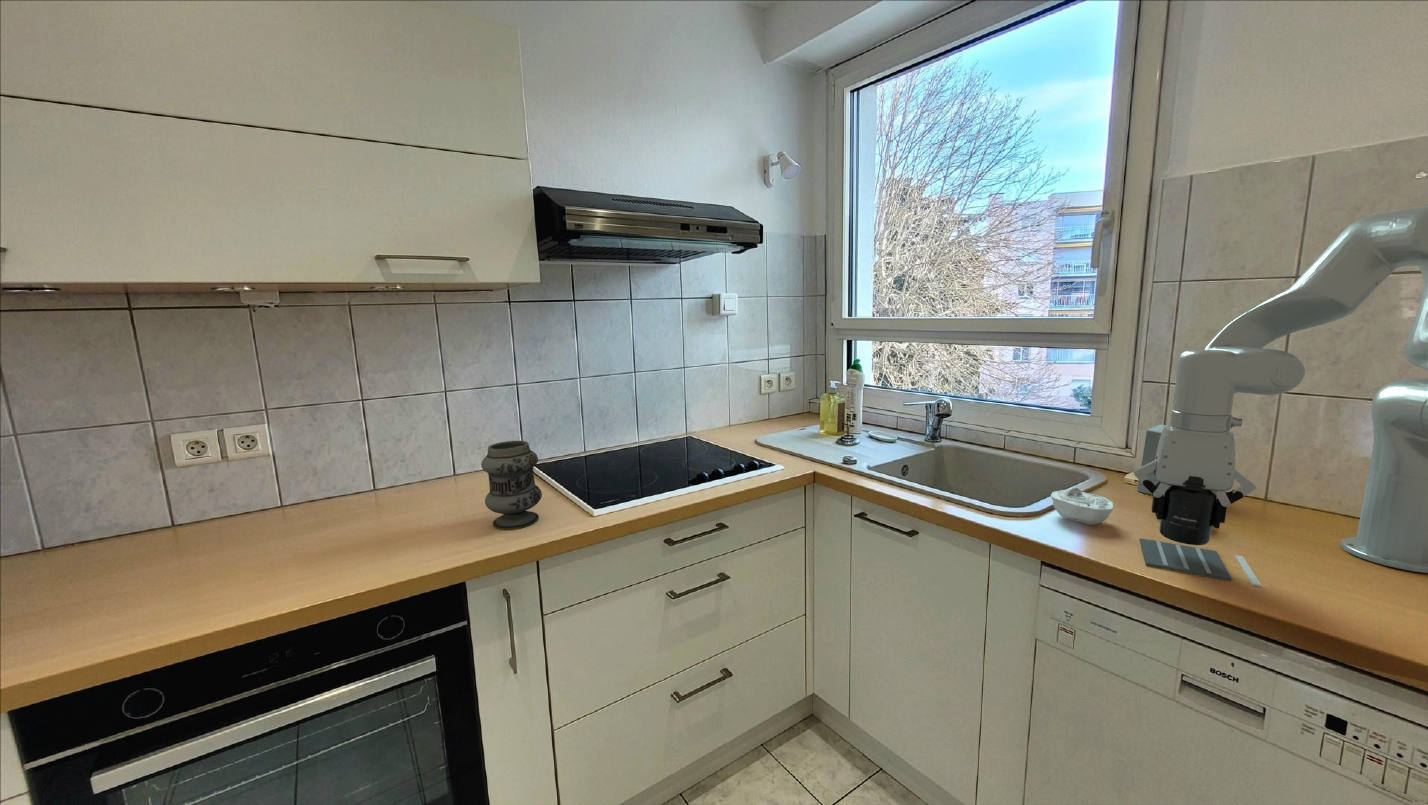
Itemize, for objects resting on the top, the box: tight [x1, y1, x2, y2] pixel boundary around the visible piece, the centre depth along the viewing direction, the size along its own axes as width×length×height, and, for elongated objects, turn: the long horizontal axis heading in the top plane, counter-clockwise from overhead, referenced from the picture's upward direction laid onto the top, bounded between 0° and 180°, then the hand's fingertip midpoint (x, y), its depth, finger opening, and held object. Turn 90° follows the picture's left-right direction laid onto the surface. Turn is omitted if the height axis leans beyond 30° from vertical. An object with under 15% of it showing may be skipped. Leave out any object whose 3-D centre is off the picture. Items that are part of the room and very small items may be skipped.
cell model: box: [1050, 486, 1115, 526], centre depth 114 cm, size 10×12×7 cm
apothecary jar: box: [480, 440, 543, 531], centre depth 120 cm, size 12×12×18 cm
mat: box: [1139, 537, 1233, 582], centre depth 96 cm, size 11×12×1 cm
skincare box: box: [1137, 424, 1168, 496], centre depth 129 cm, size 8×7×16 cm
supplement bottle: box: [1158, 476, 1217, 546], centre depth 94 cm, size 7×7×12 cm
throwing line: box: [1234, 554, 1262, 588], centre depth 91 cm, size 1×12×1 cm, turn 146°
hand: (1186, 520), depth 95 cm, fingers closed on supplement bottle, 6 cm apart
